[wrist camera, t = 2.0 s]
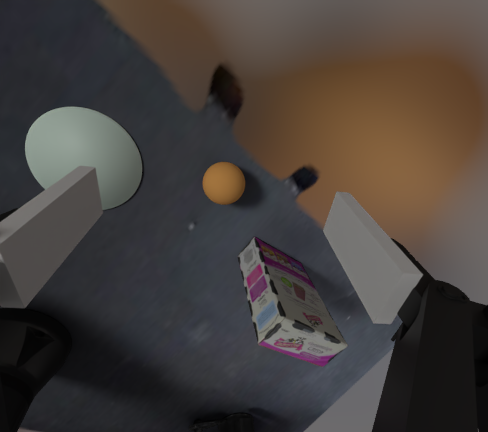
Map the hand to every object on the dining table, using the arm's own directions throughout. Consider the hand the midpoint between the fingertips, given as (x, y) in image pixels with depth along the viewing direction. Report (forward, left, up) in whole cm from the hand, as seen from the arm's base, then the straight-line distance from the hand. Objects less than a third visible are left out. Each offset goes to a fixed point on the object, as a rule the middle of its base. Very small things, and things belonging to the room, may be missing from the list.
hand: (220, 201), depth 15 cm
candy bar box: (-19, -13, -22) cm, 32 cm away
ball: (-5, -3, -19) cm, 19 cm away
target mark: (-5, +14, -21) cm, 26 cm away
